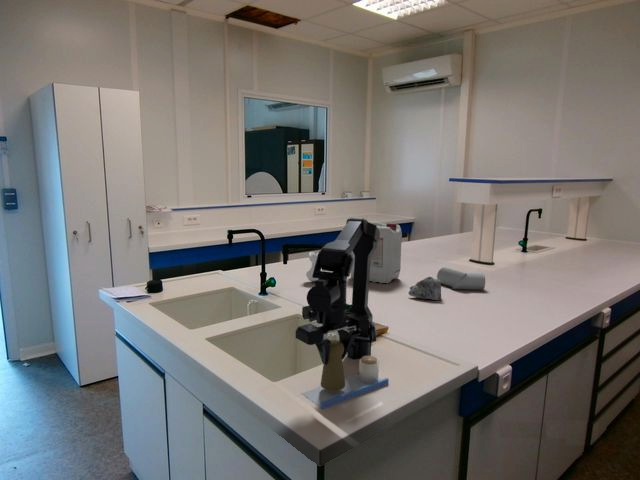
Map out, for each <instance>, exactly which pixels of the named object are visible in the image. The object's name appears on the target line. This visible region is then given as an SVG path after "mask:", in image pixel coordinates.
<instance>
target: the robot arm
mask: <svg viewBox="0 0 640 480" xmlns="http://www.w3.org/2000/svg"><path fill="white" fill-rule="evenodd" d="M369 222H370V221H368V220H367V219H366V218H364V217H350V218H347V220H346V223H345V226H344V227H343V228H342V229H341V232H340V233H339V234H338V236H337V237H336V238H335V240H333V241H331V242H328V243H326V244H325V245H324V246H323V247H322V248H321V249H320V250H319V251H318V252H319V253H318V252H317V253H318V256H317V260H316V264H315V268H314V272H313V275H312V277H313V278H319V279H318V280H316V281H314V283H315V284H314V286H312V287H310V289H309V290H308V292H307V293H306V301H307V305H305V306H302V308H301V310H302V311H301V314H302V319H303V320H308V322H309V323H308V324H303V325H299V326H298V327H297V328H296V329H295V339H297V340H299V341H301V342H303V343H304V344H306V345H308V346H314V345H315V346H316V349H317V351H318V354H319V356H320V359H321V362H322V364H323V365H327V362H328V357H329V351H330V345H331V341H330V340H331V339H328V334H330V333H334V332H337V334H338V338H339V339H338V341H340V342H342V344H343V345H344V353H343V355H342V360H345V357H347V358H350V359H351V360H360V359H361V358H362V357H363V356H372V355H371V354H372V344H373V343H374V342H375V343H376V342H377V329H376V325H375V323H374V322H373V318H374V317H373V313H372V312H371V310H370V308H369V306H368V305H369V290H370V282H369V276H370V260H371V255H372V254H373V252H374V251H375V249H376V248H377V242H379V238H380V232H379V229H378V228H377V226H376V225H374V224H371V223H369ZM352 251H353V253H354V255H355V261H354V260H353V258H352V254H351V252H352ZM353 261H354V277H353V278H352V279H353V281H352V294H351V295H352V296H351V297H352V298H351V306H350V304H349V303H347V285H348V284H347V282H348V281H347V280H348V278H349V277H350V276H351V273H350V272H351V269H352V265H353ZM320 270H321V271H320ZM347 310H348V311H347ZM313 321H314V322H315V321H316V322H315V323H317V324H319V325H320V324H321V326H316V325H314V324H312V322H313Z"/></svg>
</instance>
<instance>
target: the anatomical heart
mask: <svg viewBox="0 0 640 480" xmlns="http://www.w3.org/2000/svg"><path fill="white" fill-rule="evenodd" d="M318 253H319V251H318V252H317V253H315V252H313V251H310V252H309V254H308V259H309V261H310V262H311V267H310V269H309V270H308V271H306V274H305V275H306V278H307V280H308V281H310V282H315V281H316V280H318V279H319V278H313V277H312V275H313V272H314V268H315V264H316V260H317V256H318ZM320 271H322V269H321V270H320Z"/></svg>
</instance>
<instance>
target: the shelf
mask: <svg viewBox="0 0 640 480" xmlns="http://www.w3.org/2000/svg"><path fill="white" fill-rule="evenodd" d="M344 379H345V387H344V388H343V389H341V390H337V391H331V390H326V389H324V388H322V387H321V386H319V387H315V388H313V389H312V388H311V389H310V390H306V391H305V392H301V395H303V396H304V397H305V398H306V399H308V400H309V401H311V402H312V403H313V404H315V405H316V406H318V407H319V408H320V409H322V410H324V409H326V408H329V407H332V406H334V405H337V404H339V403H343V402H345V401H347V400H349V399H350V400H351V399H352V398H355V397H358V396H360V395H363V394H365V393H368V392H371V391H374V390H375V389H379V388H381V387H383V386H386V385H389V382H390V381H389V378H388V377H385V378H379V377H378V381H376V382H374V383H371V384H367V383H363V382H361V381H360V380H359V372H358V373H355V374H353V375H350V376H347V377H344Z"/></svg>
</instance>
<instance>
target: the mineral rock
mask: <svg viewBox="0 0 640 480" xmlns="http://www.w3.org/2000/svg"><path fill="white" fill-rule="evenodd" d="M408 295H409V296H411V297H414V298H418V299H423V300H432V301H433V300H434V301H441V299H442V284H441V282H440V280H439V279H436V278H434V277H432V276H427V277H426V278H424V279H422V280H420V281H417V282H416V284H414V285H411V286H410V287H409V291H408Z"/></svg>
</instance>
